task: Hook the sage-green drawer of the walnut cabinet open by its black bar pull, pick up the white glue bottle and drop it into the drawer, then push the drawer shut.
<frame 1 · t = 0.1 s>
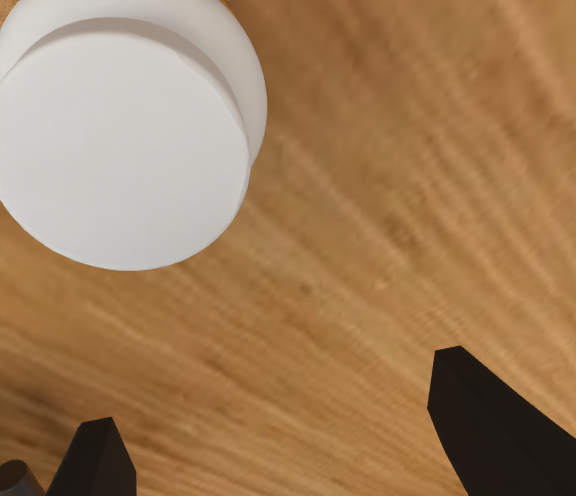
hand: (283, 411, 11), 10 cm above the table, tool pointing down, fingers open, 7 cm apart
supplement bottle: (151, 43, 16), on the table
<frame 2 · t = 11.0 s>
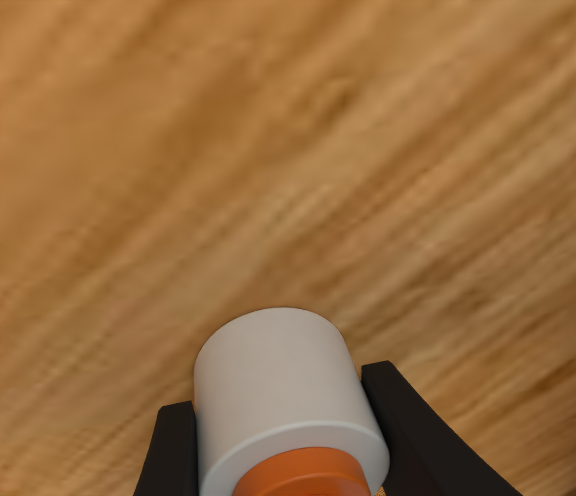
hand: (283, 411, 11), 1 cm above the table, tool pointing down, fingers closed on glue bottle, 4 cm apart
glue bottle: (271, 365, 12), on the table, touching gripper
when the fingers open (4 cm above the table, at t = 16.8 s): glue bottle stays where it is, resting on drawer.
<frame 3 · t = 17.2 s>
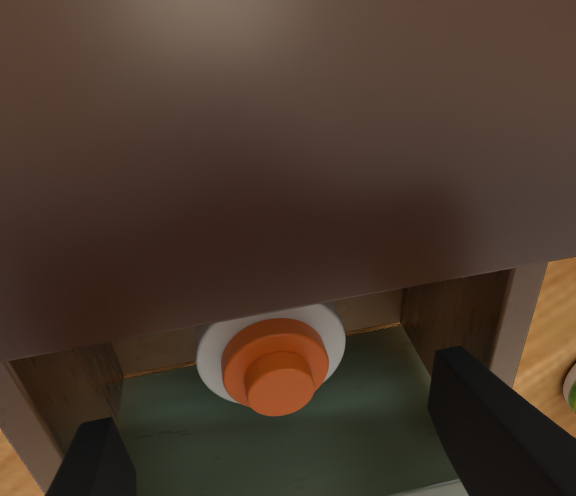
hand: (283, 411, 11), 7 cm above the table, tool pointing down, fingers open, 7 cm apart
glue bottle: (256, 279, 15), point 2 cm above the table, touching drawer
drawer: (270, 351, 14), point 4 cm above the table, slide at 8.1 cm, touching glue bottle
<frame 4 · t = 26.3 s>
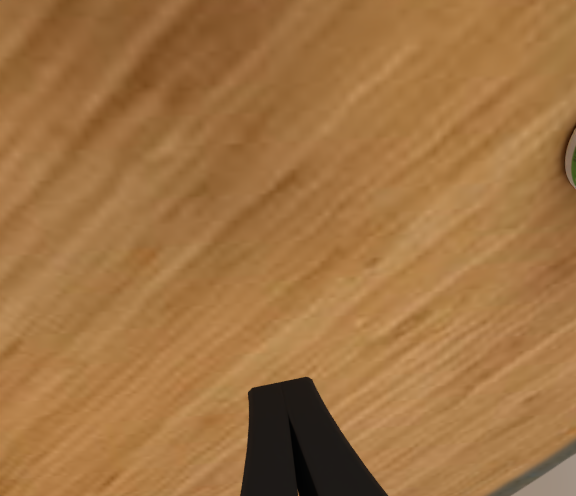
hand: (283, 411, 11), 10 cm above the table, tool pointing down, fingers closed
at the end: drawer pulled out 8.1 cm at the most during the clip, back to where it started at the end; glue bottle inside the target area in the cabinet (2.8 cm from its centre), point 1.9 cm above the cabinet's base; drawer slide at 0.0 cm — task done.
